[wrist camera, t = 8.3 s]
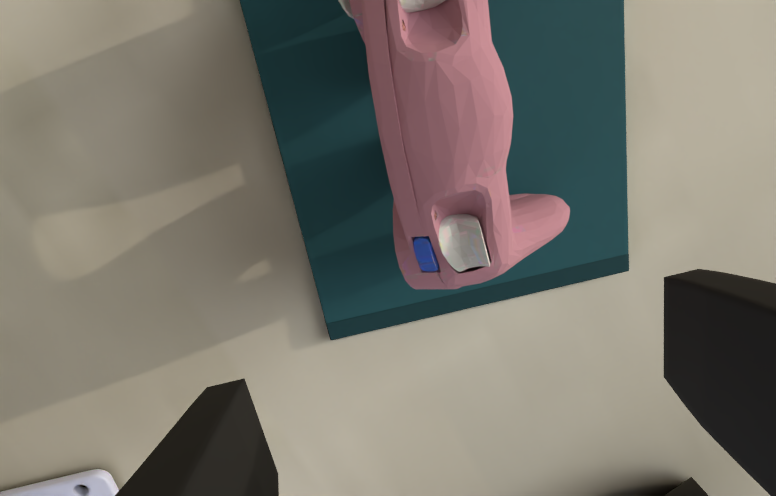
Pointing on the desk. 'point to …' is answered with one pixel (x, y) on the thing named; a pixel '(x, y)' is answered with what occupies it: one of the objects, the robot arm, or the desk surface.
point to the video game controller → (448, 142)
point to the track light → (688, 489)
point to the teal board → (523, 167)
